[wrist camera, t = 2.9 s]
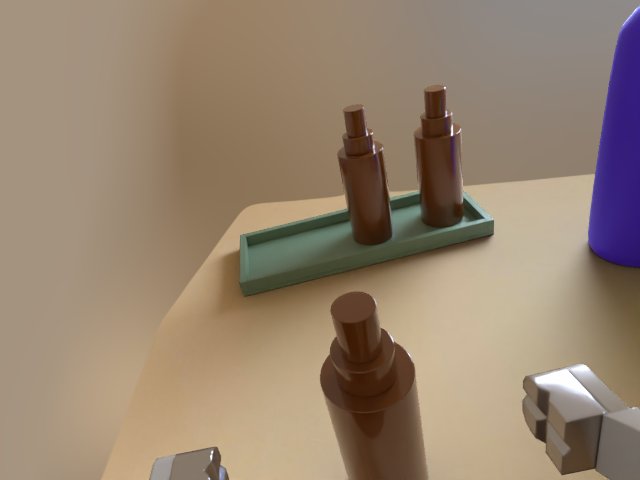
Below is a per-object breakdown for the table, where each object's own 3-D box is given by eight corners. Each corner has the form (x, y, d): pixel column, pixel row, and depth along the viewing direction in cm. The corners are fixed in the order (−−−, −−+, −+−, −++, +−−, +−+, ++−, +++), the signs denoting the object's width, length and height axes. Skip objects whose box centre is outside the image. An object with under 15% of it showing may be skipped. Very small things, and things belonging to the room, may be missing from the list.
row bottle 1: (357, 249, 57) (334, 120, 48) (349, 228, 61) (326, 107, 52) (399, 239, 57) (383, 108, 48) (387, 219, 61) (371, 96, 52)
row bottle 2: (429, 231, 57) (419, 99, 48) (415, 212, 61) (403, 88, 53) (470, 221, 57) (468, 87, 48) (453, 202, 62) (448, 77, 53)
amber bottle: (361, 534, 30) (307, 358, 21) (345, 457, 34) (296, 287, 25) (441, 513, 30) (422, 329, 21) (414, 439, 34) (389, 264, 25)
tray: (244, 296, 54) (239, 283, 53) (244, 247, 64) (240, 235, 63) (493, 234, 55) (494, 219, 54) (455, 194, 65) (455, 181, 63)
